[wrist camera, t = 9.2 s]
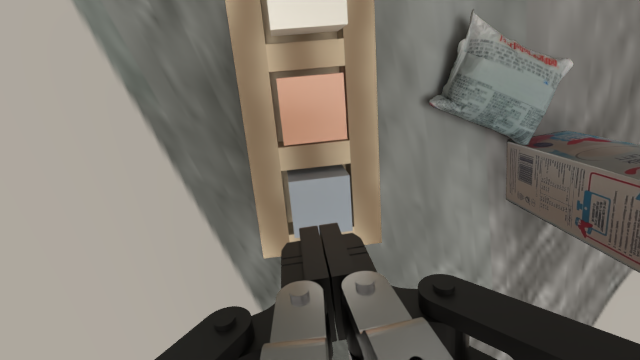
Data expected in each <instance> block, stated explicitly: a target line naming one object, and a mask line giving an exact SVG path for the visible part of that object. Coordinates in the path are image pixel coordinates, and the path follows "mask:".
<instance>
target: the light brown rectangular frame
mask: <svg viewBox="0 0 640 360" xmlns="http://www.w3.org/2000/svg"><path fill="white" fill-rule="evenodd" d="M225 3H226V10H227V16H228V23H229V30H230V36H231V43H232V50H233V56H234V63H235V70H236V76H237V83H238V90H239V96H240V103H241V110H242V116H243V123H244V130H245V136H246V143H247V150H248V156H249V163H250V170H251V177H252V183H253V190H254V197H255V203H256V210H257V217H258V223H259V230H260V237H261V243H262V250H263V257H264V258H271V257H278V256H281V250H282V249H283V247H284V246H285V245H286V243H288V242H295V241H300V238H295V236H294V227H293V219H292V210H291V202H290V193H289V184H288V175H287V170H295V169H304V168H313V167H322V166H331V165H340V164H342V166H343V167H344V168H345V170H346V171H347V172H348V174H349V175H350V192H351V209H352V226H353V231H347V232H341V234H348V233H354V234H355V235H357V236H358V237H360V238H361V239H362V241H363V243H364V245H368V244H375V243H382V240H381V207H380V175H379V142H378V109H377V77H376V44H375V12H374V0H347V16H348V24H347V25H346V26H344V27H343V28H342V29H340V30H339V31H336V32H323V33H310V34H297V35H284V36H271V30H270V22H269V13H268V5H267V0H225ZM327 73H344V90H345V107H346V124H347V139H342V140H332V141H323V142H313V143H304V144H294V145H285V146H284V141H283V133H282V124H281V116H280V107H279V98H278V90H277V81H276V78H281V77H293V76H304V75H316V74H327Z"/></svg>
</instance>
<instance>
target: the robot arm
mask: <svg viewBox="0 0 640 360" xmlns="http://www.w3.org/2000/svg"><path fill="white" fill-rule="evenodd" d="M319 233H320V235H319ZM299 234H300V241H295V242H288V243H286V245H285V246H284V247H283V249H282V250H281V266H282V267H281V290H280V291H279V292H278V294H277V296H276V302H275V304H274V305H273V306H271V307H270V308H268V309H267V310H265V311H263V312H260V313H258V314H255V315H253V316H251V315H250V312H249V311H248V310H246V309H245V308H242V307H235V306H234V307H233V306H232V307H227V308H223V309H220V310H218V311H215V312H214V313H212V314H210V315H209V316H208V317H207V318H205V319H204V320H203V321H202V322H200V323H199V324H198V325H197V326H195V327H194V328H193V329H192V330H191V331H189V332H188V333H187V334H186V335H184V336H183V337H182V338H181V339H179V340H178V341H177V342H176V343H175V344H173V345H172V346H171V347H170V348H168V349H167V350H166V351H165V352H164V353H162V354H161V355H160V356H159V357H157V358H156V359H155V360H332V356H333V347H332V342H334V341H337V338H336V330H335V324H336V329H337V334H338V339H339V340H345V339H346V340H347V344H348V351H349V360H497V359H495V358H493V357H491V356H489V355H487V354H485V353H483V352H481V351H479V350H477V349H475V348H473V347H471V346H469V336H471V337H473V338H475V339H477V340H480V341H482V342H484V343H486V344H488V345H490V346H492V347H494V348H496V349H499V350H501V351H503V352H505V353H507V354H508V355H509V356H511V357H512V358H513V359H514V360H640V344H638V343H635V342H633V341H629V340H627V339H624V338H621V337H619V336H616V335H613V334H611V333H608V332H605V331H602V330H600V329H597V328H594V327H591V326H589V325H586V324H583V323H580V322H578V321H575V320H572V319H569V318H567V317H564V316H561V315H558V314H556V313H553V312H550V311H548V310H545V309H542V308H539V307H537V306H534V305H531V304H528V303H526V302H523V301H520V300H517V299H515V298H512V297H509V296H506V295H504V294H501V293H498V292H495V291H493V290H490V289H487V288H484V287H482V286H479V285H476V284H474V283H471V282H468V281H465V280H463V279H460V278H457V277H454V276H451V275H445V274H434V275H430V276H427V277H425V278H423V279H422V280H421V281H420V282H419V284H418V289H406V288H398V287H394V286H391V285H390V283H389V282H388V280H387V279H386V278H385V277H384V276H383V275H381V274H379V273H377V271H376V269H375V267H374V265H373V262H372V260H371V258H370V256H369V254H368V253H367V250H366V248H365V246H364V243H363V241H362V239H361V238H360V237H358V236H357V235H355V234H354V233H348V234H341V231H340V228H339V226H338V223H330V224H323V225H319V230H318V226H310V227H303V228H299ZM334 320H335V321H334Z"/></svg>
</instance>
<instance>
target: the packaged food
mask: <svg viewBox="0 0 640 360" xmlns="http://www.w3.org/2000/svg"><path fill="white" fill-rule="evenodd" d="M457 52H458V55H457V58H456V61H455V62H454V64H453V66H452V70H451V73H450V77H449V80H448V82H447V84H446V85H445V86H444V88H443V93H442V94H441V95H437V96H435V97H433V99H431V100H430V102H429V104H430V105H431V106H433V107H435V108H438V109H441V110H443V111H446V112H448V113H451V114H453V115H456V116H458V117H461V118H463V119H465V120H468V121H470V122H474V123H476V124H479V125H481V126H485V127H487V128H490V129H493V130H495V131H497V132H499V133H501V134H503V135H505V136H507V137H509V138H511V139H512V140H513V141H515V142H516V143H518V144H521V145H529V142H530V140H531V138H532V136H533V134H534V132H535V131H536V129H537V127H538V125H539V123H540V121H541V120H542V118H543V115H545V114H546V110H547V108H548V105H549V103H550V101H551V100H552V98H553V96H554V92H555V90H556V88H557V86H558V84H559V82H560V80H561V79H562V78H563V77H564V76H565V75H566V74H567V72H568V71H569V70H570V69H571V67H572V66H573V62H572V61H571V60H570V59H568V58H556V59H554V58H552V57H550V56H548V55H544V54H541V53H537V52H534V51H531V50H529V49H527V48H524V47H523V46H521V45H520V44H518V43H517V42H516V41H515V40H509V39H508V38H505V37H504V36H503V35H502V34H501V33H499V32H498V31H496V30H495V29H494V28H492V27H491V26H490V25H488V24H487V23H486V22H484V21H483V20H482V19H480V18H479V16H477V15H476V14H475V13H474V9H473V10H472V13H471V17H470V24H469V29H468V32H467V34H466V39H463V40H462V41H460V43H459V46H458V50H457Z"/></svg>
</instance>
